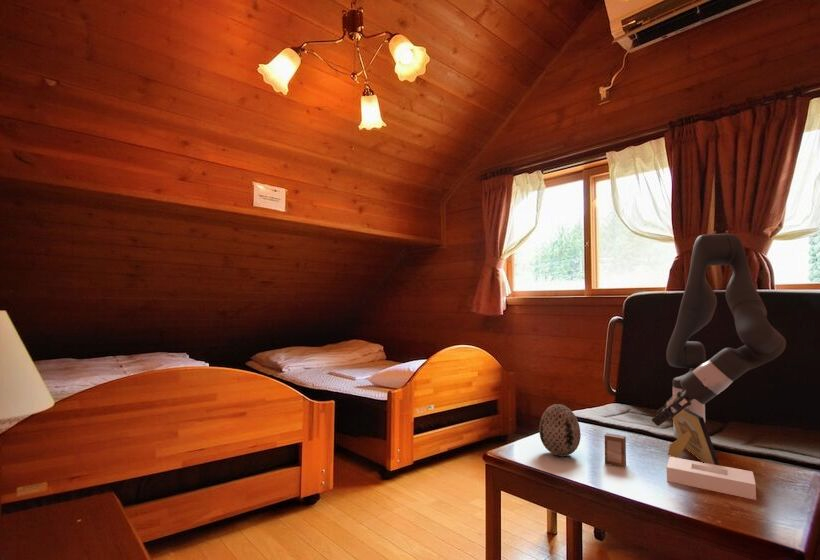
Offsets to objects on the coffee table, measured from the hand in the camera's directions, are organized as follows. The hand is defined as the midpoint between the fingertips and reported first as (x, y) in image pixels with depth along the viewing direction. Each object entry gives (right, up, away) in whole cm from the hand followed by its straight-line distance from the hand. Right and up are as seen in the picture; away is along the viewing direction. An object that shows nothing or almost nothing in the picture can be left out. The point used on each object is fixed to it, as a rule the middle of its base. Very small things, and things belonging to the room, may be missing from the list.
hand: (656, 419), depth 118 cm
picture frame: (+15, -15, +11) cm, 25 cm away
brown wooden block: (-9, -14, +5) cm, 18 cm away
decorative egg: (-22, -15, +12) cm, 29 cm away
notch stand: (+9, -14, -7) cm, 18 cm away
